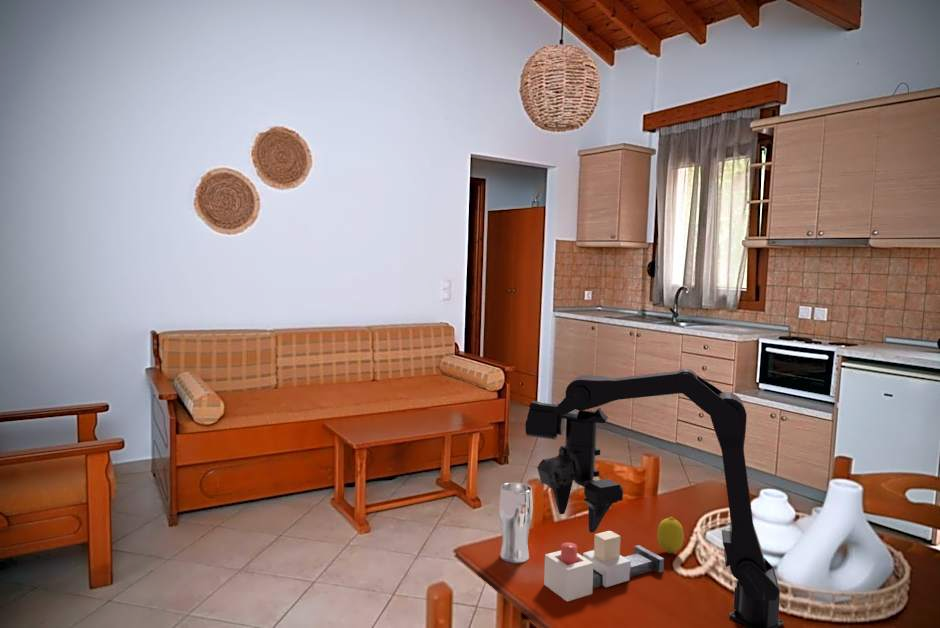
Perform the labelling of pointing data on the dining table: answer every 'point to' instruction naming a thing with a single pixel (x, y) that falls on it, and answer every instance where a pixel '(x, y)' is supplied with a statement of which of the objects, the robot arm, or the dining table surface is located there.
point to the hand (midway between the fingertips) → (576, 522)
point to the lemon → (670, 535)
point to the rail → (637, 564)
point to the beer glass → (515, 520)
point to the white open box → (568, 576)
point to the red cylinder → (569, 553)
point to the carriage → (609, 559)
